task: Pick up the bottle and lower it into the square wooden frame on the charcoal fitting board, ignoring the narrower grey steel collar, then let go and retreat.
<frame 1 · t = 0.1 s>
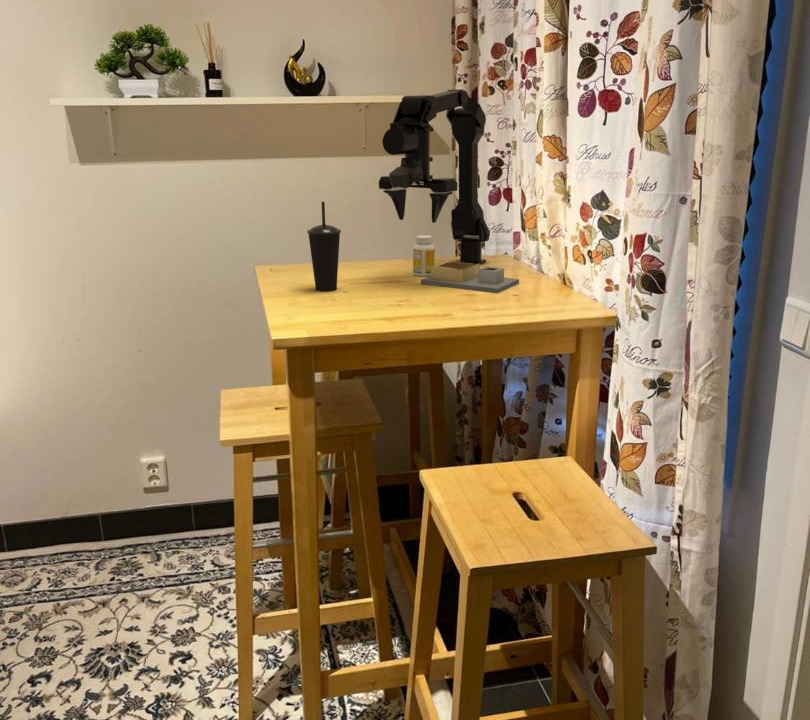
hand: (417, 221, 186), 14 cm above the table, fingers open, 9 cm apart
drinking cup: (326, 290, 182), on the table
fitting board: (469, 283, 187), on the table
steel collar: (490, 286, 184), resting on fitting board
square wooden frame: (455, 281, 189), resting on fitting board
supplement bottle: (423, 275, 198), on the table
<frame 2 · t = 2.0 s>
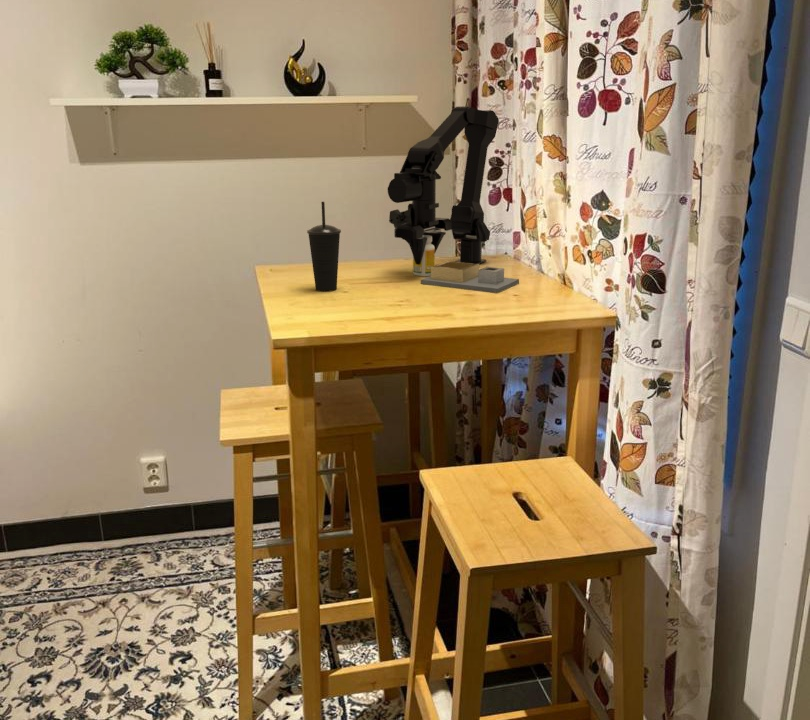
hand: (423, 262, 197), 3 cm above the table, fingers closed on supplement bottle, 5 cm apart
supplement bottle: (423, 275, 198), on the table, touching gripper
everything else where it was.
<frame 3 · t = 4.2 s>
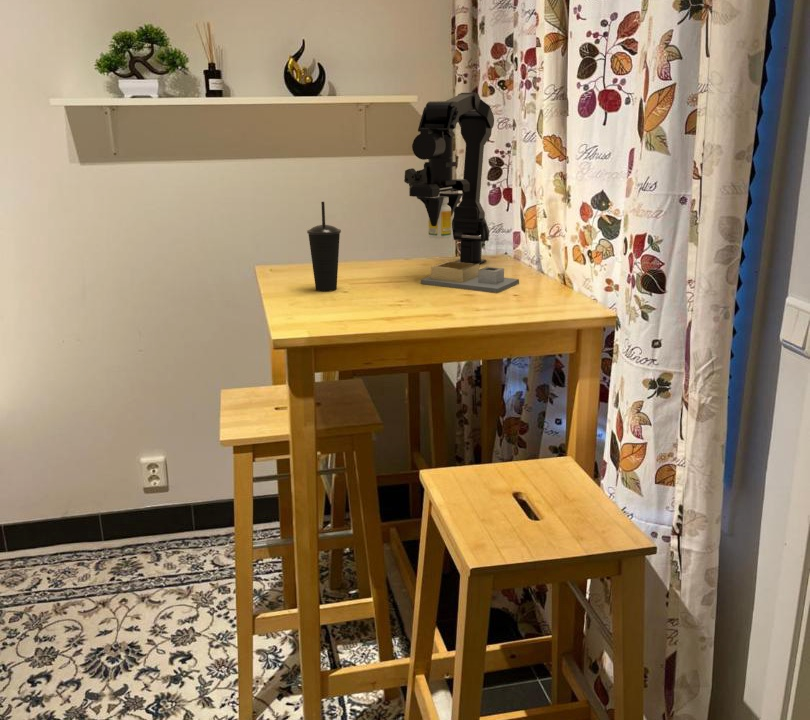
hand: (440, 224, 189), 13 cm above the table, fingers closed on supplement bottle, 5 cm apart
supplement bottle: (439, 238, 190), point 10 cm above the table, touching gripper
everything else where it was.
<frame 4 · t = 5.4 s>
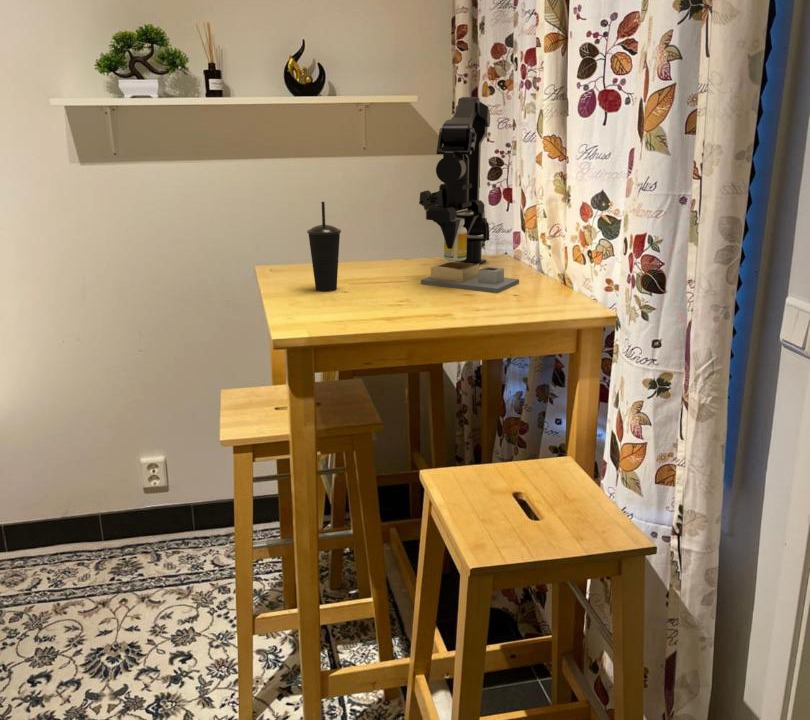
hand: (455, 246, 187), 8 cm above the table, fingers closed on supplement bottle, 5 cm apart
supplement bottle: (455, 260, 188), point 5 cm above the table, touching gripper
everything else where it was.
when the fingers open (5 cm above the table, at t = 6.4 s): supplement bottle stays where it is, resting on fitting board.
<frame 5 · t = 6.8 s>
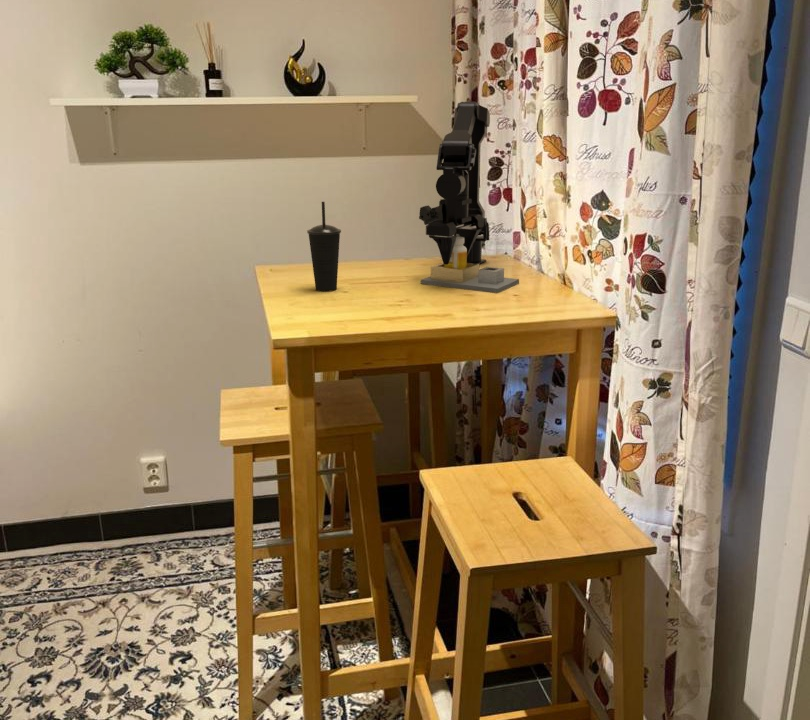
hand: (455, 261, 188), 5 cm above the table, fingers open, 9 cm apart
supplement bottle: (455, 278, 189), point 1 cm above the table, touching fitting board
everything else where it was.
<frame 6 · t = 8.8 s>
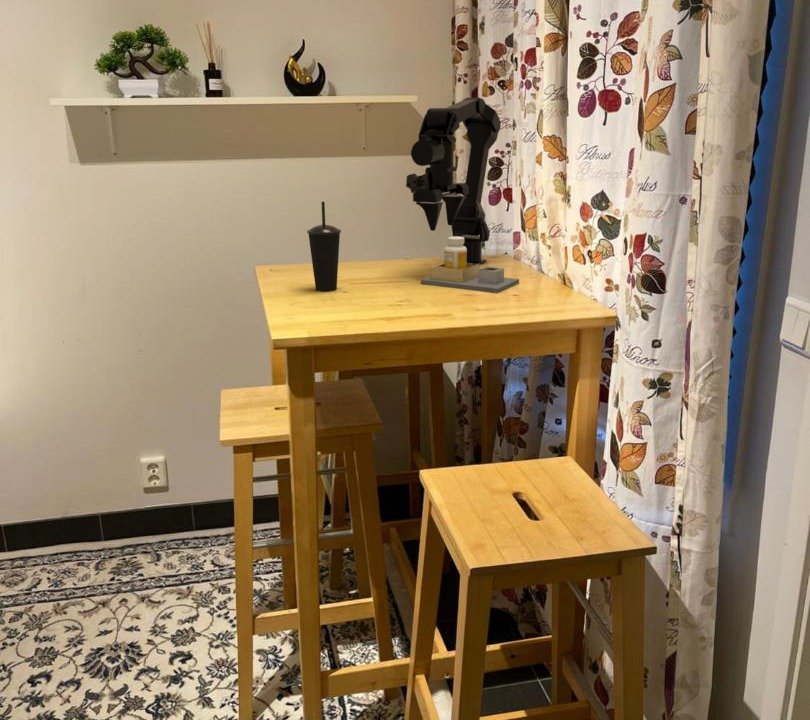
hand: (441, 227, 194), 12 cm above the table, fingers open, 9 cm apart
nothing on the table moved.
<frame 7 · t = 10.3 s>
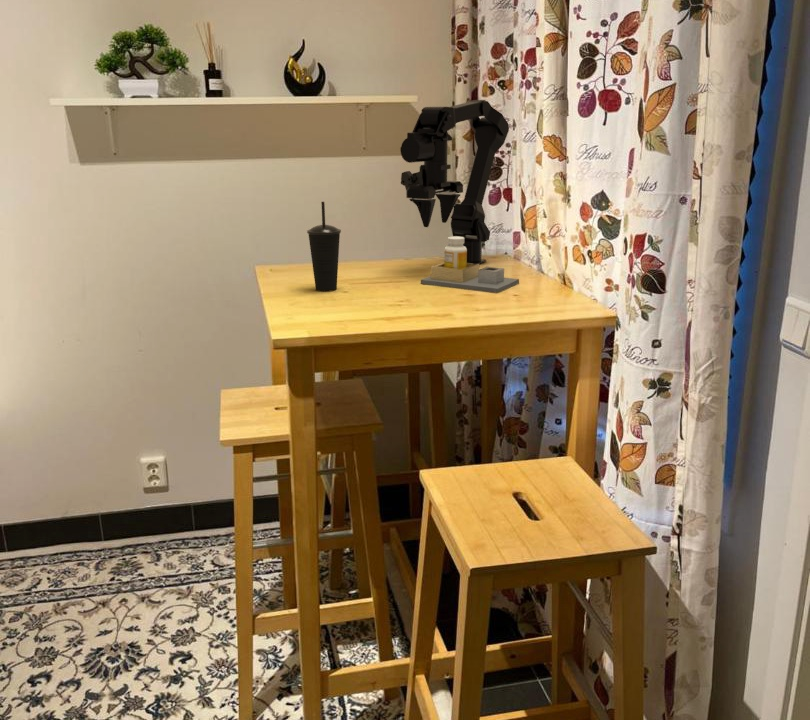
hand: (435, 224, 197), 12 cm above the table, fingers open, 9 cm apart
nothing on the table moved.
at the end: supplement bottle 0.2 cm off-centre on the square wooden frame, point 0.8 cm above the square wooden frame's base; supplement bottle tilted 0°; the gripper is holding nothing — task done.
